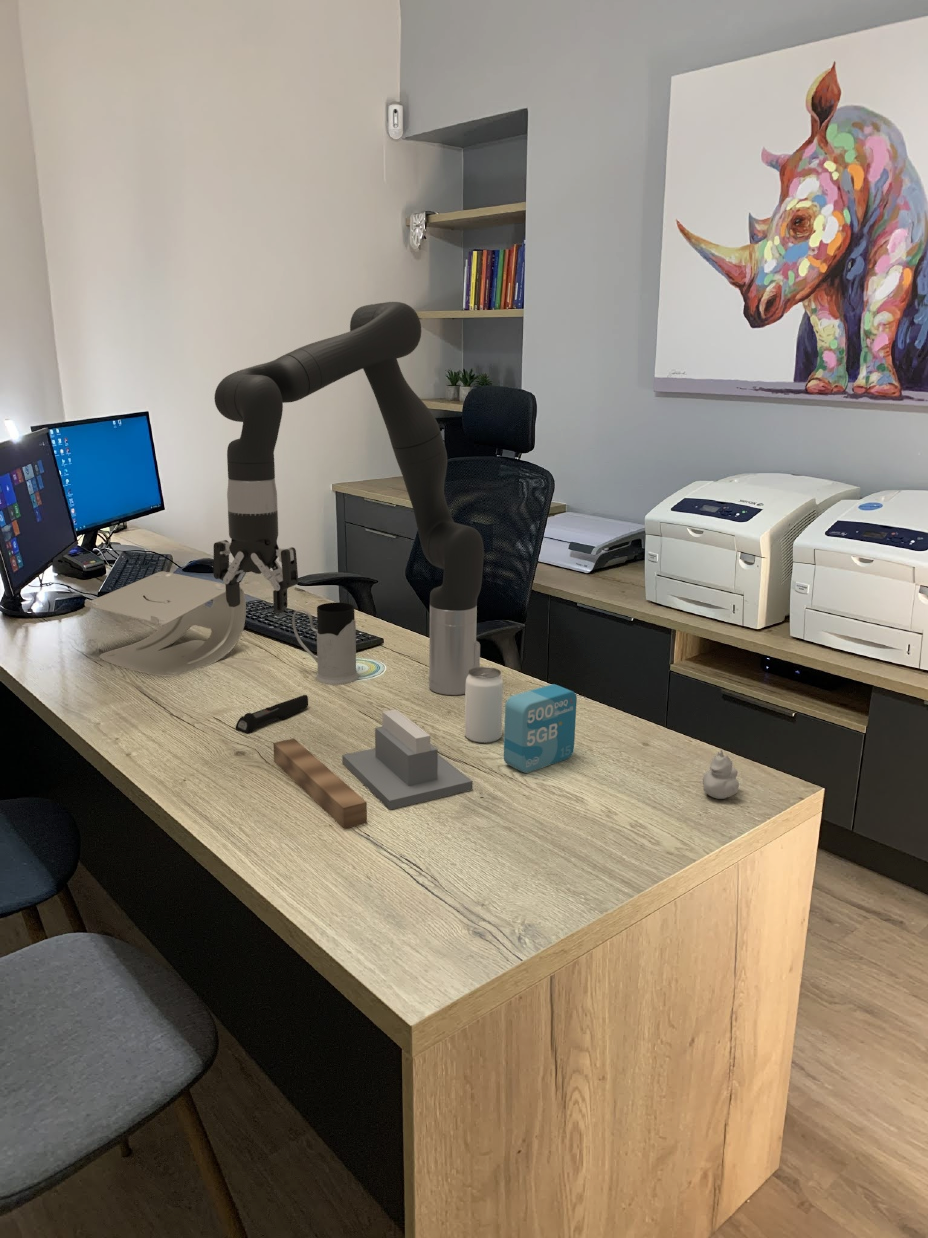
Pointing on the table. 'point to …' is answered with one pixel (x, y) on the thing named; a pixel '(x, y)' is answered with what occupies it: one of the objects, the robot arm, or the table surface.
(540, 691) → the data package
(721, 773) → the rubber duck
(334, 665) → the grey black mug
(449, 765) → the stand
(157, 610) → the portable electronic device stand
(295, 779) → the walnut bar
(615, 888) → the table surface
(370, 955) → the table surface
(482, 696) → the can
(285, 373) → the robot arm
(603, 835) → the table surface
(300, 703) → the electric trimmer
